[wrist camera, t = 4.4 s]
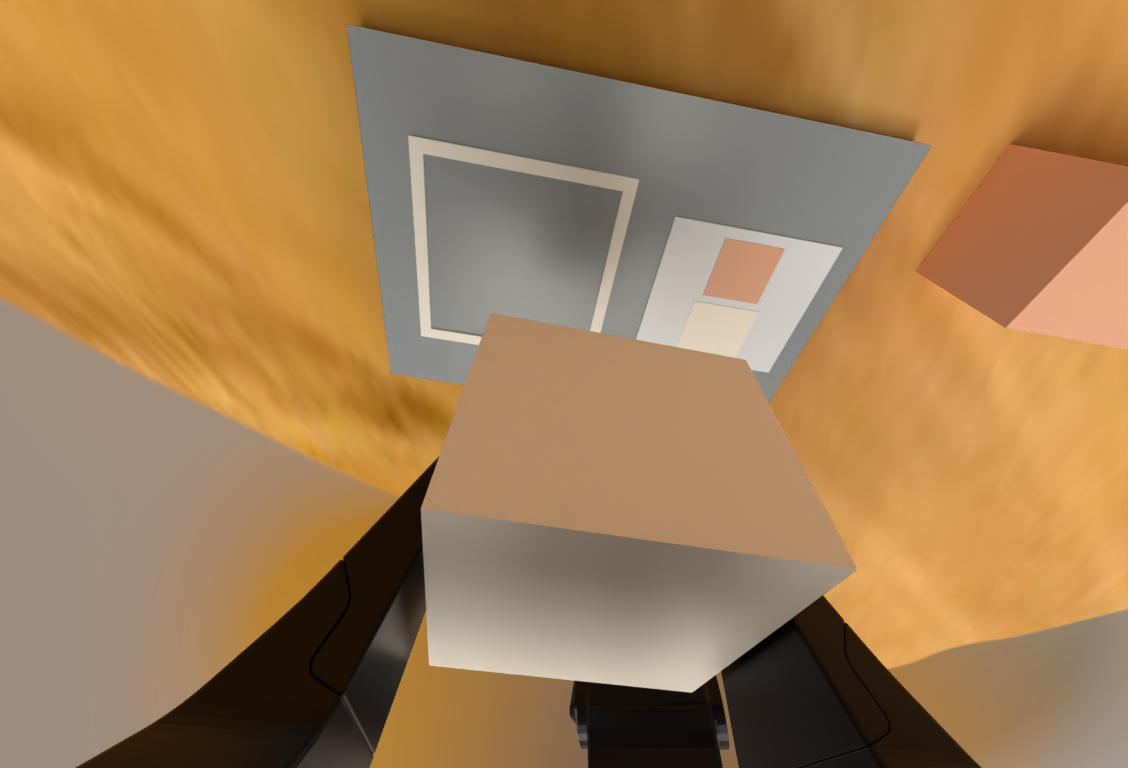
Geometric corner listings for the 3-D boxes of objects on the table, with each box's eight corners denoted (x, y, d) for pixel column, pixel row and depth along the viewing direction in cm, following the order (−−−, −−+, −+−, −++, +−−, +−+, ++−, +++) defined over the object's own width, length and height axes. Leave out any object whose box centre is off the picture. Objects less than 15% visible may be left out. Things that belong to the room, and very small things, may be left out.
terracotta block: (1016, 289, 19) (1132, 350, 15) (914, 270, 18) (1005, 328, 14) (1128, 168, 15) (1313, 204, 12) (1007, 143, 15) (1157, 171, 11)
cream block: (659, 506, 13) (692, 692, 9) (475, 479, 13) (428, 665, 9) (746, 360, 10) (857, 569, 6) (490, 312, 9) (420, 508, 5)
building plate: (747, 415, 24) (753, 429, 23) (397, 362, 22) (390, 375, 21) (913, 141, 15) (934, 146, 14) (360, 26, 14) (344, 23, 13)
